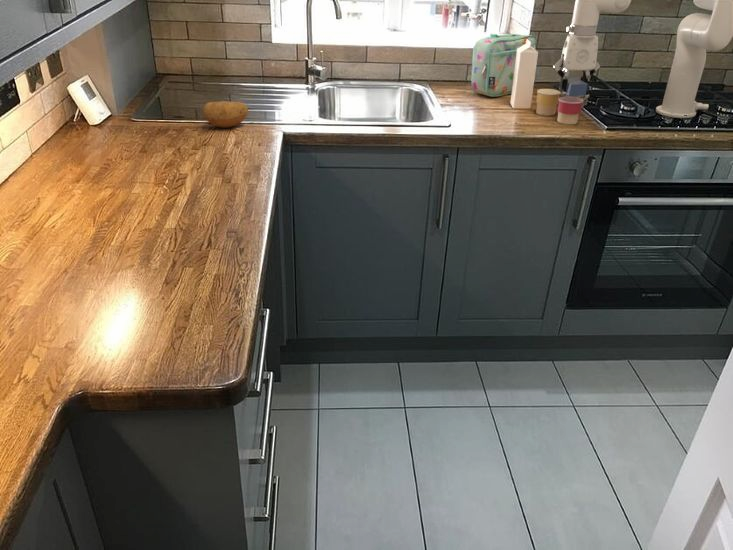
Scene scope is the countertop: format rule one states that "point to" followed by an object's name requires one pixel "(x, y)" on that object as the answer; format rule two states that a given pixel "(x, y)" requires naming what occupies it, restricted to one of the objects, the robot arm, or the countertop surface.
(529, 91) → the milk
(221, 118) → the potato
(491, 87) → the lunch box
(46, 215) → the countertop surface
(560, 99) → the raspberry yogurt
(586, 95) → the egg carton
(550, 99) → the vanilla yogurt
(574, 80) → the block
